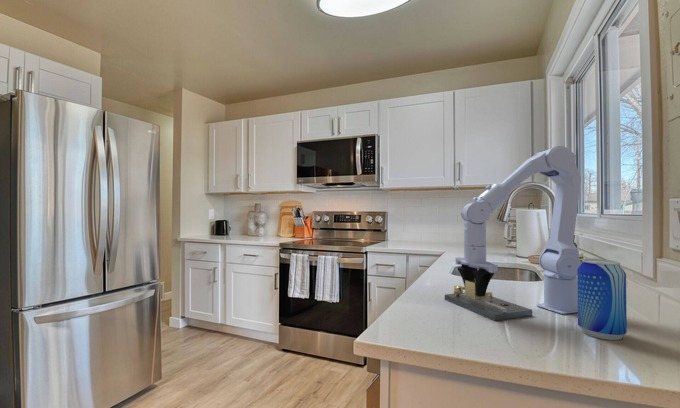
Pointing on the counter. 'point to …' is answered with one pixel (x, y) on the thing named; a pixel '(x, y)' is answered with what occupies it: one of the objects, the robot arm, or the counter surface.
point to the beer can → (602, 299)
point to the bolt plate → (488, 306)
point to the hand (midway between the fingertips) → (475, 294)
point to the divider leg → (473, 290)
